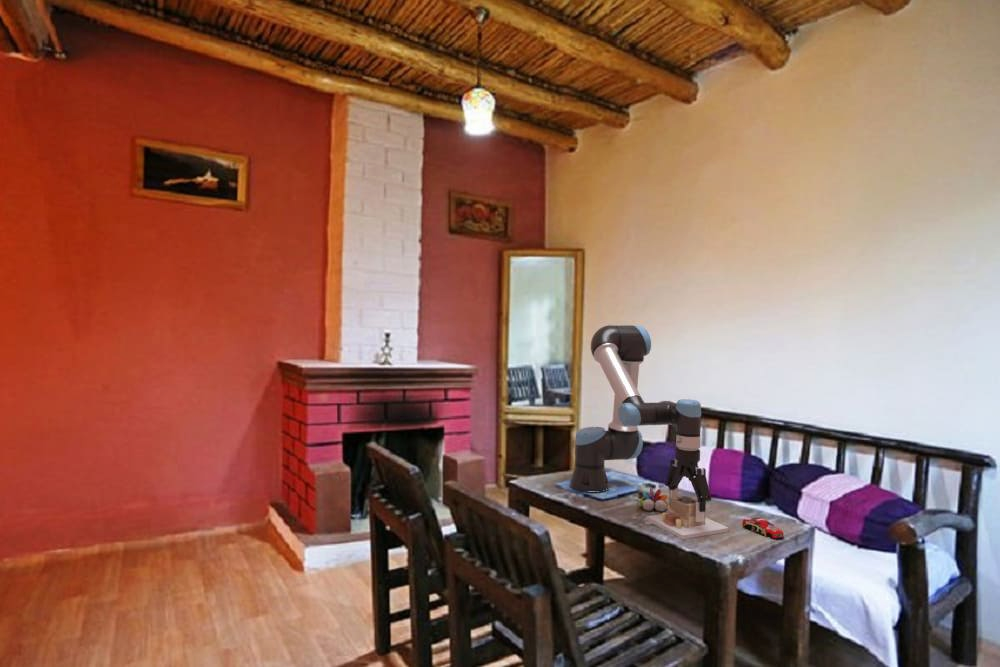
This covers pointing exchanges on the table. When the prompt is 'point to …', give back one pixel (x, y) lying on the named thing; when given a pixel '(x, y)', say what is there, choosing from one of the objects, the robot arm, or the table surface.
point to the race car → (762, 527)
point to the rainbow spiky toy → (654, 501)
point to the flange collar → (682, 513)
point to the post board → (688, 532)
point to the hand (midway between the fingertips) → (686, 515)
